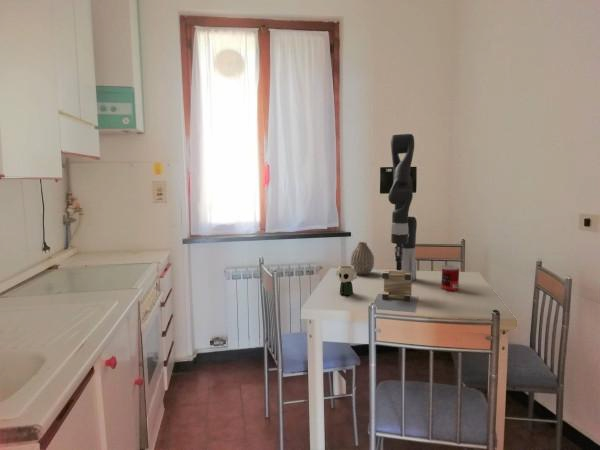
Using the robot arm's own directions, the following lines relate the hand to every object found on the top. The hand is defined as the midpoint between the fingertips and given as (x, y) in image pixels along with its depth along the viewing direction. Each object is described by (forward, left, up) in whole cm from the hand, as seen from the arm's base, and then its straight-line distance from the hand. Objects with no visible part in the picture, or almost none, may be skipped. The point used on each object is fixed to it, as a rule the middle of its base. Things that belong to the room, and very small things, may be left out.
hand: (398, 270), depth 204 cm
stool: (+6, +6, -11) cm, 14 cm away
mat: (+10, +10, -12) cm, 18 cm away
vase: (-9, -42, -12) cm, 45 cm away
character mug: (+21, -12, -12) cm, 27 cm away
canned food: (-27, +5, -12) cm, 30 cm away
